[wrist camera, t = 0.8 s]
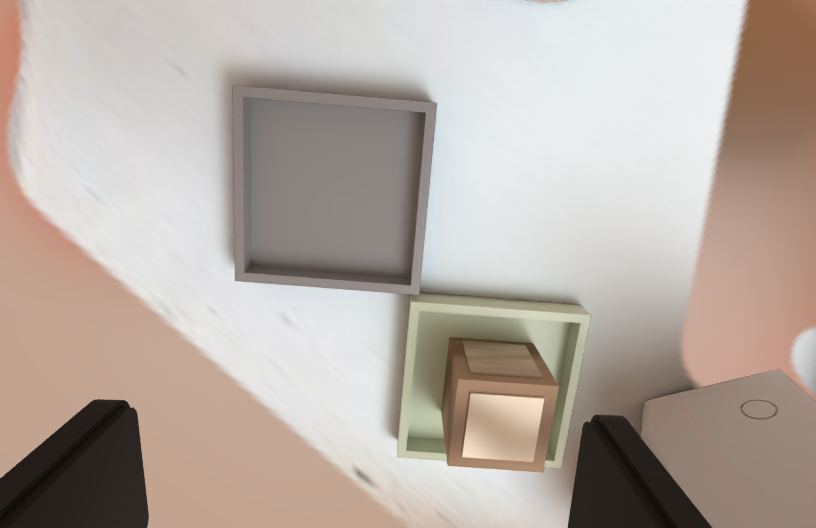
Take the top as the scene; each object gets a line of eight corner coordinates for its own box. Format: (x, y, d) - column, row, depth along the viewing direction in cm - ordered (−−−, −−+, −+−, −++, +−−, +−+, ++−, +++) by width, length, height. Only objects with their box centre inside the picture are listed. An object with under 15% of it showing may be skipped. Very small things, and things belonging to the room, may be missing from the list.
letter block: (449, 334, 34) (458, 378, 28) (533, 341, 34) (560, 385, 28) (440, 411, 36) (447, 467, 30) (521, 417, 36) (543, 473, 30)
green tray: (410, 291, 34) (411, 301, 32) (580, 304, 34) (591, 315, 32) (397, 440, 37) (397, 457, 35) (553, 451, 37) (561, 468, 35)
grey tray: (243, 87, 30) (232, 85, 28) (435, 104, 30) (437, 102, 28) (244, 272, 33) (234, 280, 31) (418, 285, 34) (419, 294, 32)
